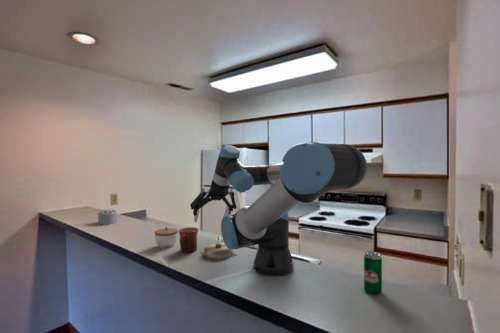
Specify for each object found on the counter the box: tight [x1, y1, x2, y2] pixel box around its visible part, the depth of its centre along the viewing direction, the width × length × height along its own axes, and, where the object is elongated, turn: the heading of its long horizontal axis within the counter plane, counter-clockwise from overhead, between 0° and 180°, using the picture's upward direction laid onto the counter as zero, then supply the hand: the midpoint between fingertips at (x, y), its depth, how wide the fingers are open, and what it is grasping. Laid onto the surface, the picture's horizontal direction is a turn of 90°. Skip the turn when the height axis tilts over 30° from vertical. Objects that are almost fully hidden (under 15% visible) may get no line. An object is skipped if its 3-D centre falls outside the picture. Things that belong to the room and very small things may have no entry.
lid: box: [203, 242, 234, 260], centre depth 115 cm, size 12×12×4 cm
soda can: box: [363, 250, 383, 296], centre depth 83 cm, size 5×5×12 cm
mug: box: [178, 226, 199, 254], centre depth 119 cm, size 12×9×10 cm
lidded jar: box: [154, 226, 179, 249], centre depth 129 cm, size 11×11×9 cm
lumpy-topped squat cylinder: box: [97, 209, 118, 226], centre depth 180 cm, size 10×13×9 cm
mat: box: [200, 251, 238, 262], centre depth 115 cm, size 12×12×1 cm
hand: (210, 219), depth 119 cm, fingers open, 13 cm apart
